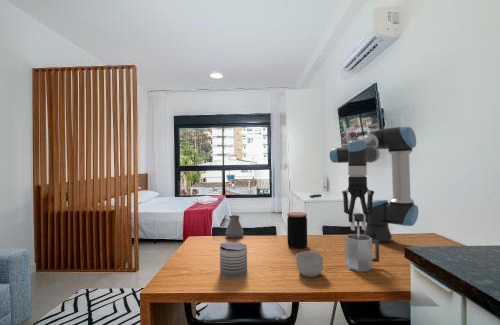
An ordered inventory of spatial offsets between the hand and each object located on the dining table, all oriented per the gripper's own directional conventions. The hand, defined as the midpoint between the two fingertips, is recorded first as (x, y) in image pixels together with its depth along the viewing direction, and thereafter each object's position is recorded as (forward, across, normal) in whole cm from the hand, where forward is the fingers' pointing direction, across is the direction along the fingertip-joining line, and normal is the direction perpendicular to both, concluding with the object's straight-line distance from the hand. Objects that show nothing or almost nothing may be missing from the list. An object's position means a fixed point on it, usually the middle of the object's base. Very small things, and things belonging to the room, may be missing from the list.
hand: (358, 229), depth 122 cm
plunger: (+13, 0, 0) cm, 13 cm away
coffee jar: (+16, +22, -31) cm, 41 cm away
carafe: (+16, -2, 0) cm, 16 cm away
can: (+17, +54, +6) cm, 57 cm away
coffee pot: (+17, +57, -48) cm, 76 cm away
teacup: (+17, +22, +6) cm, 28 cm away
